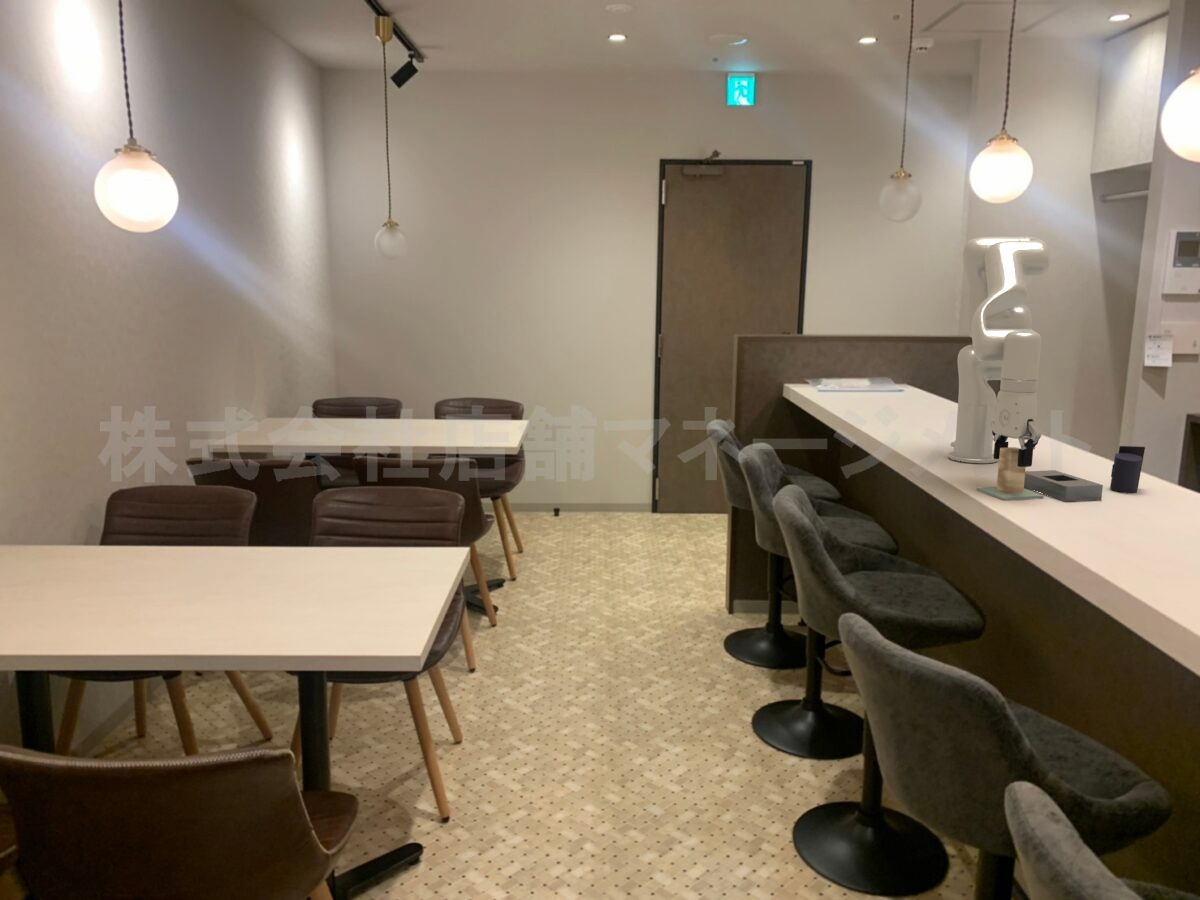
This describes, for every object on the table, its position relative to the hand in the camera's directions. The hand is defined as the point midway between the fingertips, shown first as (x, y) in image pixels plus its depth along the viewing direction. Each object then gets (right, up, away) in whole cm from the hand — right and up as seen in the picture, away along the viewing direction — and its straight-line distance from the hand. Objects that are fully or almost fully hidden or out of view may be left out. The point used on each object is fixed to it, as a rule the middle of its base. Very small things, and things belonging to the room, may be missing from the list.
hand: (1012, 462), depth 200 cm
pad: (0, -7, +1) cm, 8 cm away
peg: (0, -7, +1) cm, 7 cm away
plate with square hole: (+12, -7, +2) cm, 14 cm away
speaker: (+29, -7, +4) cm, 30 cm away
